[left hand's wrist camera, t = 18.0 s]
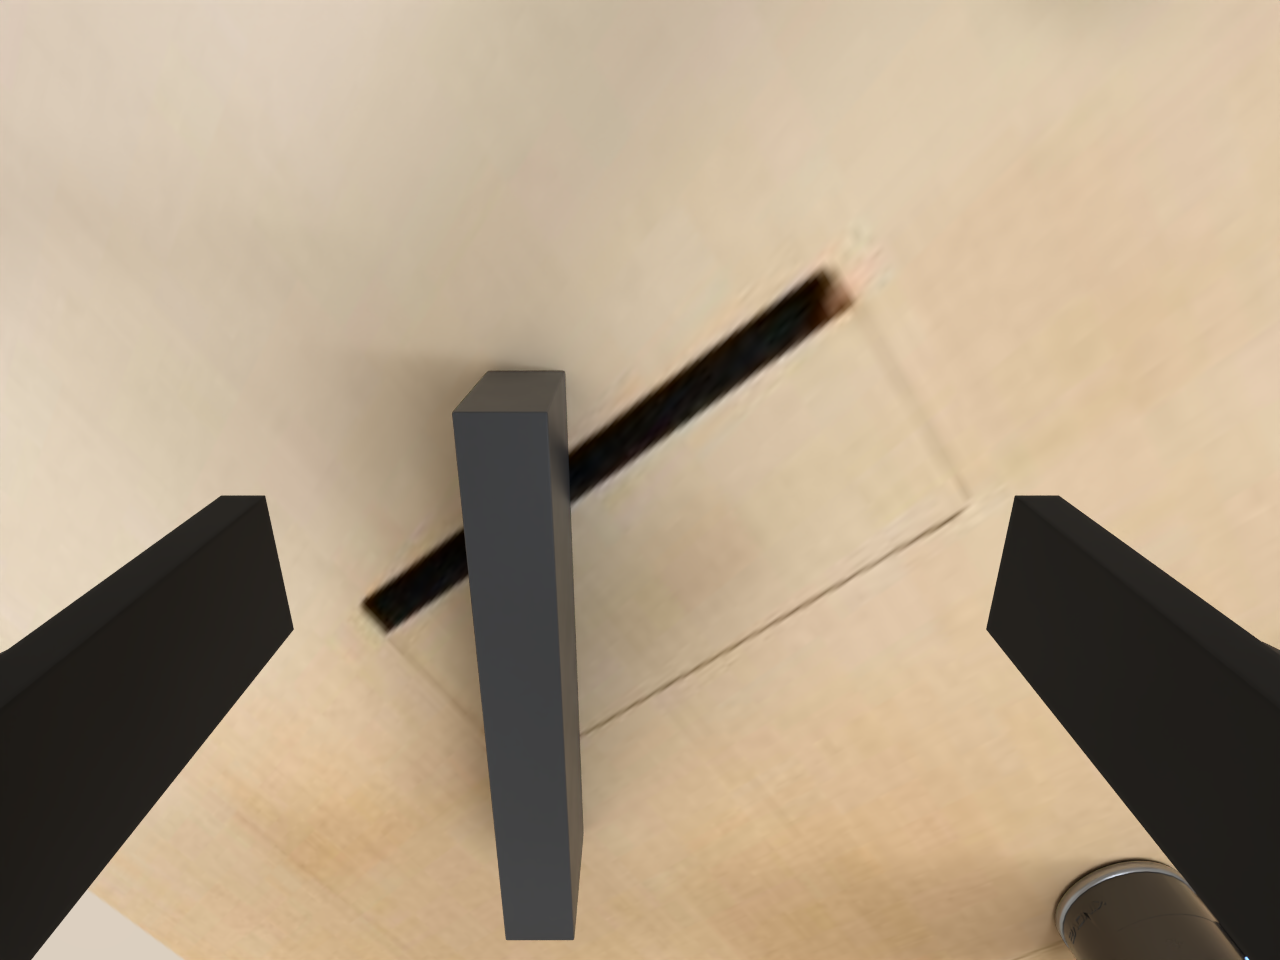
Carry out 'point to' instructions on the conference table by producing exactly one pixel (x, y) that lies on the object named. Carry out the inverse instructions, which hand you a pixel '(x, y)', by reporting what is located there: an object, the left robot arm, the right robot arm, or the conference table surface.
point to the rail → (525, 638)
